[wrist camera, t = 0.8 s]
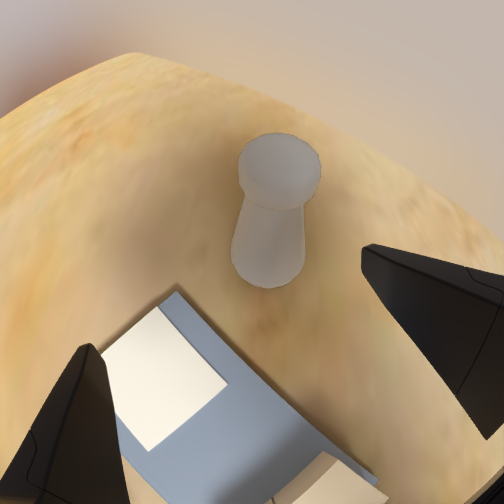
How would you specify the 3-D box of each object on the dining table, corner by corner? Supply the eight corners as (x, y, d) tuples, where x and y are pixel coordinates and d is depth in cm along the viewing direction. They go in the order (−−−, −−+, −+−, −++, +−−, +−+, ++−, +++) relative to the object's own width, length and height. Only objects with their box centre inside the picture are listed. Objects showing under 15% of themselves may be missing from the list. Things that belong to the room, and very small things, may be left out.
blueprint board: (374, 477, 18) (402, 490, 13) (264, 570, 14) (268, 600, 9) (179, 294, 25) (165, 269, 20) (75, 384, 21) (42, 377, 16)
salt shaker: (268, 223, 28) (283, 104, 16) (314, 267, 26) (362, 160, 15) (217, 261, 26) (198, 147, 15) (262, 312, 24) (279, 221, 13)
